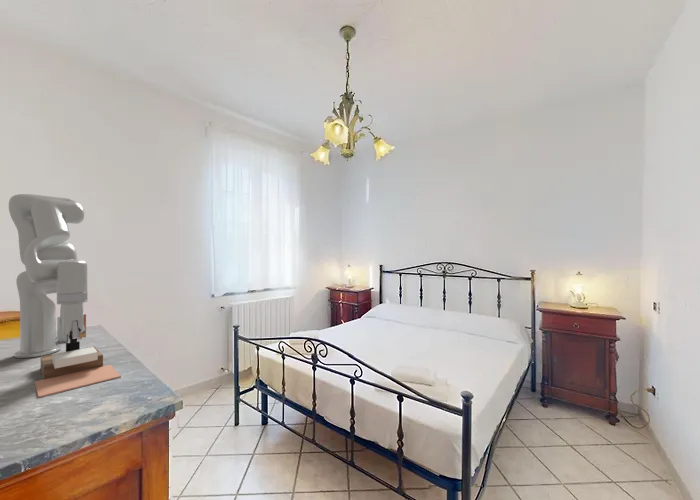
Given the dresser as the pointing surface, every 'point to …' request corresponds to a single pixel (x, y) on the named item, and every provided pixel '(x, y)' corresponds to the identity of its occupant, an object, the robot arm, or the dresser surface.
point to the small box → (63, 338)
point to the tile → (74, 357)
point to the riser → (51, 372)
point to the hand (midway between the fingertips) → (72, 354)
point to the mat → (75, 380)
